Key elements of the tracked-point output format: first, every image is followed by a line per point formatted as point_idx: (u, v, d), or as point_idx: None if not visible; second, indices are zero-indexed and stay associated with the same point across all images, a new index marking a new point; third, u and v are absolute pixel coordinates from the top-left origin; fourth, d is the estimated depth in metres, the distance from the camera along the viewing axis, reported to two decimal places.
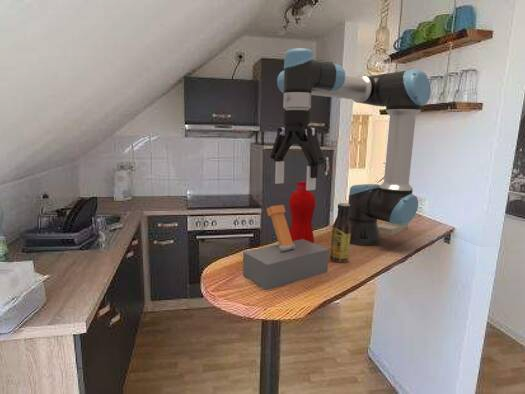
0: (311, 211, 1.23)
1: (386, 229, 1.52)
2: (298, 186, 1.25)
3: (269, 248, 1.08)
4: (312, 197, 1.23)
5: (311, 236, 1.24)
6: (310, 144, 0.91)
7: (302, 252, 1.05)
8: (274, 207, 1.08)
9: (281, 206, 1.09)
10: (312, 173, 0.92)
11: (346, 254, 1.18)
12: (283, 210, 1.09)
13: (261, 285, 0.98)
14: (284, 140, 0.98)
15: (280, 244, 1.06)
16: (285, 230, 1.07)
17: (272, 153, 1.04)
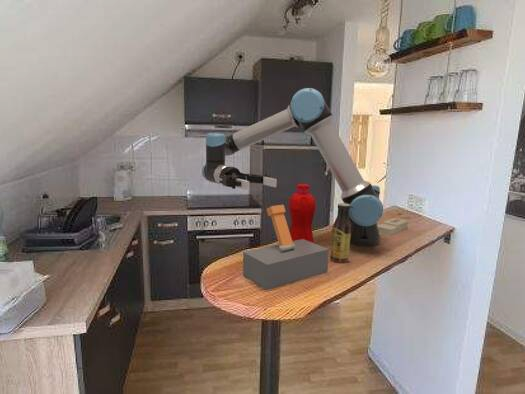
0: (311, 215, 1.21)
1: (385, 229, 1.52)
2: (298, 189, 1.22)
3: (269, 248, 1.08)
4: (312, 201, 1.20)
5: (311, 240, 1.23)
6: None
7: (302, 252, 1.05)
8: (274, 207, 1.08)
9: (281, 206, 1.09)
10: None
11: (346, 254, 1.18)
12: (283, 210, 1.09)
13: (261, 285, 0.98)
14: None
15: (280, 244, 1.06)
16: (285, 230, 1.07)
17: None
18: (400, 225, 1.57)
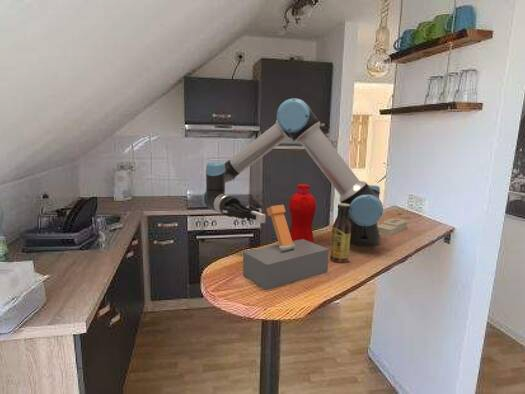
0: (311, 215, 1.21)
1: (385, 229, 1.51)
2: (298, 189, 1.22)
3: (269, 248, 1.08)
4: (312, 201, 1.20)
5: (311, 240, 1.23)
6: None
7: (302, 252, 1.05)
8: (274, 207, 1.08)
9: (281, 206, 1.09)
10: None
11: (346, 254, 1.18)
12: (283, 210, 1.09)
13: (261, 285, 0.98)
14: None
15: (280, 244, 1.06)
16: (285, 230, 1.07)
17: None
18: (399, 225, 1.57)
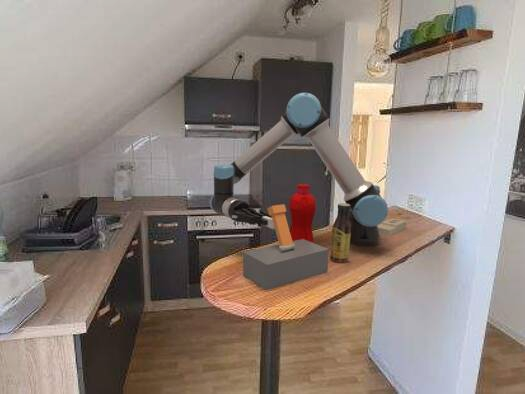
0: (311, 215, 1.21)
1: (384, 230, 1.51)
2: (298, 189, 1.22)
3: (269, 248, 1.08)
4: (312, 201, 1.20)
5: (311, 240, 1.23)
6: None
7: (302, 252, 1.05)
8: (275, 207, 1.07)
9: (282, 206, 1.09)
10: None
11: (346, 254, 1.18)
12: (284, 210, 1.09)
13: (261, 285, 0.98)
14: None
15: (280, 244, 1.06)
16: (285, 230, 1.07)
17: None
18: (399, 225, 1.56)
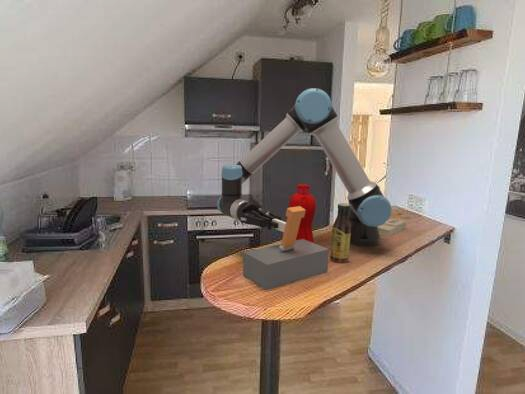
0: (311, 215, 1.21)
1: (383, 230, 1.51)
2: (298, 189, 1.22)
3: (269, 248, 1.08)
4: (312, 201, 1.20)
5: (311, 240, 1.23)
6: None
7: (302, 252, 1.05)
8: (295, 213, 1.00)
9: (302, 212, 1.01)
10: None
11: (346, 254, 1.18)
12: (302, 216, 1.02)
13: (261, 285, 0.98)
14: None
15: (282, 244, 1.05)
16: (293, 234, 1.04)
17: None
18: (398, 226, 1.56)
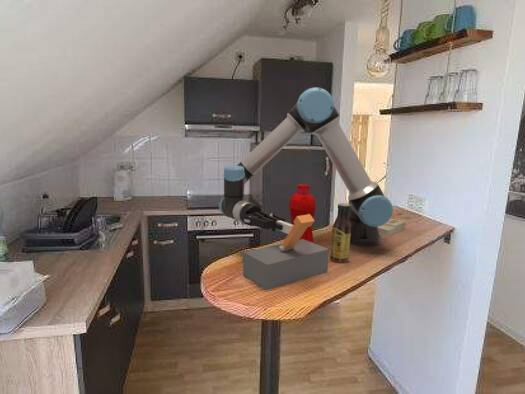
0: (311, 215, 1.21)
1: (383, 230, 1.51)
2: (298, 189, 1.22)
3: (269, 248, 1.08)
4: (312, 201, 1.20)
5: (311, 240, 1.23)
6: None
7: (302, 252, 1.05)
8: (304, 223, 0.97)
9: (311, 222, 0.99)
10: None
11: (346, 254, 1.18)
12: (309, 225, 1.00)
13: (261, 285, 0.98)
14: None
15: (283, 245, 1.05)
16: (297, 238, 1.03)
17: None
18: (398, 226, 1.56)
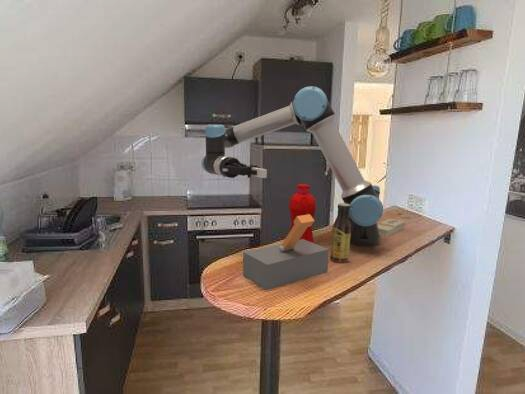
0: (311, 215, 1.21)
1: (382, 230, 1.50)
2: (298, 189, 1.22)
3: (269, 248, 1.08)
4: (312, 201, 1.20)
5: (311, 240, 1.23)
6: (233, 173, 1.20)
7: (302, 252, 1.05)
8: (304, 223, 0.97)
9: (311, 222, 0.99)
10: None
11: (346, 254, 1.18)
12: (309, 225, 1.00)
13: (261, 285, 0.98)
14: None
15: (283, 245, 1.05)
16: (297, 238, 1.03)
17: None
18: (397, 226, 1.55)
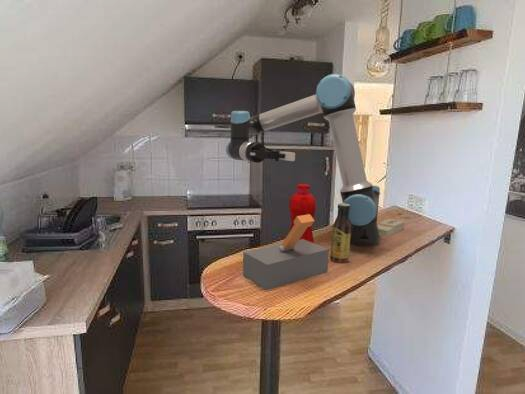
0: (311, 215, 1.21)
1: (381, 230, 1.50)
2: (298, 189, 1.22)
3: (269, 248, 1.08)
4: (312, 201, 1.20)
5: (311, 240, 1.23)
6: (260, 157, 1.23)
7: (302, 252, 1.05)
8: (304, 223, 0.97)
9: (311, 222, 0.99)
10: (281, 157, 1.18)
11: (346, 254, 1.18)
12: (309, 225, 1.00)
13: (261, 285, 0.98)
14: None
15: (283, 245, 1.05)
16: (297, 238, 1.03)
17: None
18: (396, 226, 1.55)
